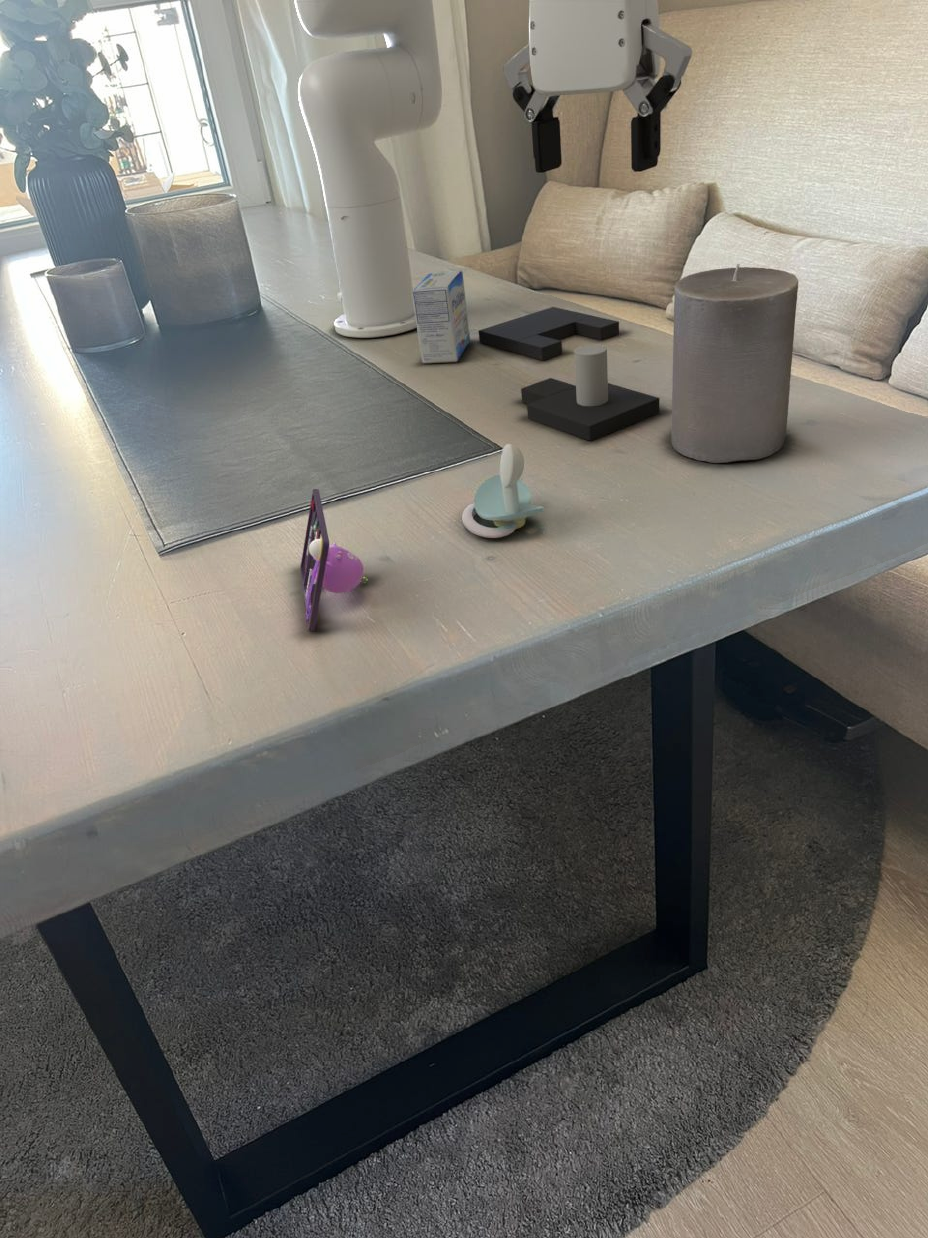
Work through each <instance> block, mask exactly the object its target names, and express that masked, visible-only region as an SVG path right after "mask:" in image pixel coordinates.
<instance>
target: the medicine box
mask: <svg viewBox="0 0 928 1238" xmlns="http://www.w3.org/2000/svg"><path fill="white" fill-rule="evenodd" d="M412 297H413V305H414V311H415V318H416V325H417V328H416V330H417V331H416V332H417V337H418V345H419V351H420V357H421V363H423V364H443V363H445V364H446V363H458V361H459V359H460V358H461V356H462V354H463V353H464V351H465V350H466V348H467V347H468V345H469V343H470V342H471V336H470V328H469V327H470V325H469V318H468V309H467V308H468V307H467V300H466V290H465V281H464V273H463V271H462V270H444V271H436V272H431V273H428V274H427V275H426V276H425V277H424V278H423V279H422V280H421V281H420V282H419V283H418V284H417V285H416V286H415V288H414V289H413V291H412Z"/></svg>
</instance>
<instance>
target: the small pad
mask: <svg viewBox="0 0 928 1238" xmlns="http://www.w3.org/2000/svg"><path fill="white" fill-rule="evenodd" d="M574 370H575V384H572V383H568V382H567V381H566V382H565V381H562V380H559V379H557V378H556V379H555V378H552V377H549V378H547V379H546V378H545V379H543V380H541V381H538V382H536V383H535V382H534V383H533V384H530V385H527V386H525V387H522V388H521V389H520V393H521V394H520V395H521V403H523V404H525V405H526V408H527V409H526V410H527V411H526V412H527V419H529V420H531V421H533V422H536V423H539V424H542V425H544V426H548V427H550V428H553V429H556V430H559V431H561V432H563V433H567V434H569V435H572V436H574V437H577V438H580V439H583V440H585V441H588V442H591V441H594V440H597V439H599V438H602V437H604V436H606V435H609V434H611V433H613V432H617V431H619V430H621V429H623V428H625V427H628V426H631V425H633V424H636V423H638V422H640V421H643V420H645V419H648V418H650V417H653V416H655V415H657V414H659V413H660V405H661V404H660V402H661V401H660V399H661V398H660V397H658V396H655V395H651V394H647V393H643V392H640V391H637V390H633V389H631V388H627V387H623V386H620V385H616V384H613V383H610V382H609V378H608V373H609V372H608V348H607V347H606V346H605V345H601V344H585V345H581V346H579V347H577V348H575V349H574Z"/></svg>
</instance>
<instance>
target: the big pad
mask: <svg viewBox="0 0 928 1238" xmlns="http://www.w3.org/2000/svg"><path fill="white" fill-rule="evenodd" d="M573 335H578V336H582V337H585V338H590V339H593V340H594V339H595V340H599V341H603V340H606V339H609V338H611V337H614V336H617V335H620V321H618V320H613V319H610V318H609V319H608V318H605V317H601V316H596V315H591V314H587V313H583V312H579V311H578V312H577V311H574V310H569V309H565V308H560V307H556V306H551V307H548V308H545V309H542V310H538V311H535V312H532V313H529V314H526V315H523V316H519V317H517V318H514V319H510V320H507V321H504V322H501V323H497V324H494V325H491V326H488V327H485V328H481V329H478V339H479V343H480V344H483V345H488V346H491V347H493V348H498V349H501V350H504V351H508V352H512V353H514V354H518V355H521V356H526V357H529V358H532V359H535V360H539V361H546V360H548V359H552V358H554V357H557V356H560V355H563V341H562V340H563V339H565V338H567V337H571V336H573Z"/></svg>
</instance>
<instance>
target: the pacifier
mask: <svg viewBox="0 0 928 1238" xmlns="http://www.w3.org/2000/svg"><path fill="white" fill-rule="evenodd" d="M524 469H525V458H524V455H523V453H522V451H521V449H520V448H519V447H518V446H516V445H515V444H512V443H507V444H505V445H504V447H503V448H502V452H501V456H500V463H499V474H498V475H493V476H491V477H489V478H487V479H486V480H485V481H483V482H482V483H481V484H480V485H479V486H478V488H477V489H476V492H475V494H474V499H473V503H471V504H469V505H467V506H466V507H465V508H464V510H463V512H462V515H461V517H462V518H461V520H462V523H463V526H464V527H465V528H466V529H467V530H468V531H469V532H471V533H472V534H474V535H476V536H478V537H482V538H487V539H498V538H502V537H506V536H509V535H510V534H512V533H514V531H515V530H518V529H521V528H522V527H524V526H525V524H526V519H527V518H530V517H533V516H536V515H539V514H541V513H543V512H544V507H543V506H540V505H531V499H532V496H531V495H532V494H531V491H530V489H529V487H528V486H527V484H526V483H525V482H524V481H522V480H521V477H522V475H523V473H524ZM476 514H477V515H478V516H479V517H480V518H481V519H483V520H488V521H492V522H493V524H494V525H495V526H496V527H488V526H485V525H482V524H480V523H478V522H477V521H476V520H475V519H474V517H475V515H476Z"/></svg>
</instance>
